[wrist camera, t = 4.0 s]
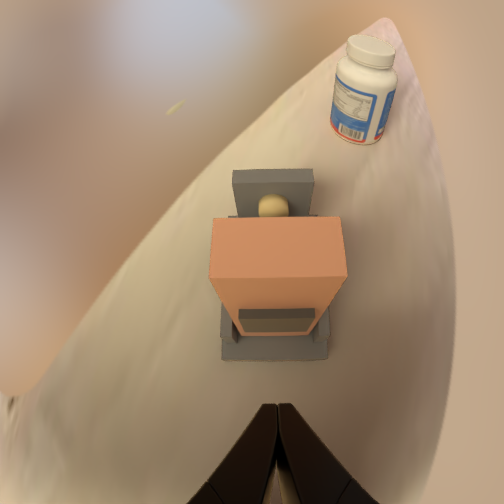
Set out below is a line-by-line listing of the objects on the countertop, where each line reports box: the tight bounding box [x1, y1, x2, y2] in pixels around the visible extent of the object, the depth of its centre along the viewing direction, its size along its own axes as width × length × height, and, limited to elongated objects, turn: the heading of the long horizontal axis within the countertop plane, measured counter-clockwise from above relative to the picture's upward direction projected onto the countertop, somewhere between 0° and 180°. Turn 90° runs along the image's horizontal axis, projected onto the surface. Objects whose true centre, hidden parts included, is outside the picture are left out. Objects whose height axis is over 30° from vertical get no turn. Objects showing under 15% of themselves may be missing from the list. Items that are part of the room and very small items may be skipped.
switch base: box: [220, 169, 330, 361], centre depth 17 cm, size 10×6×6 cm, turn 179°
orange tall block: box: [209, 217, 348, 336], centre depth 13 cm, size 2×4×10 cm, turn 89°
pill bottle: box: [330, 35, 398, 145], centre depth 22 cm, size 6×5×10 cm
